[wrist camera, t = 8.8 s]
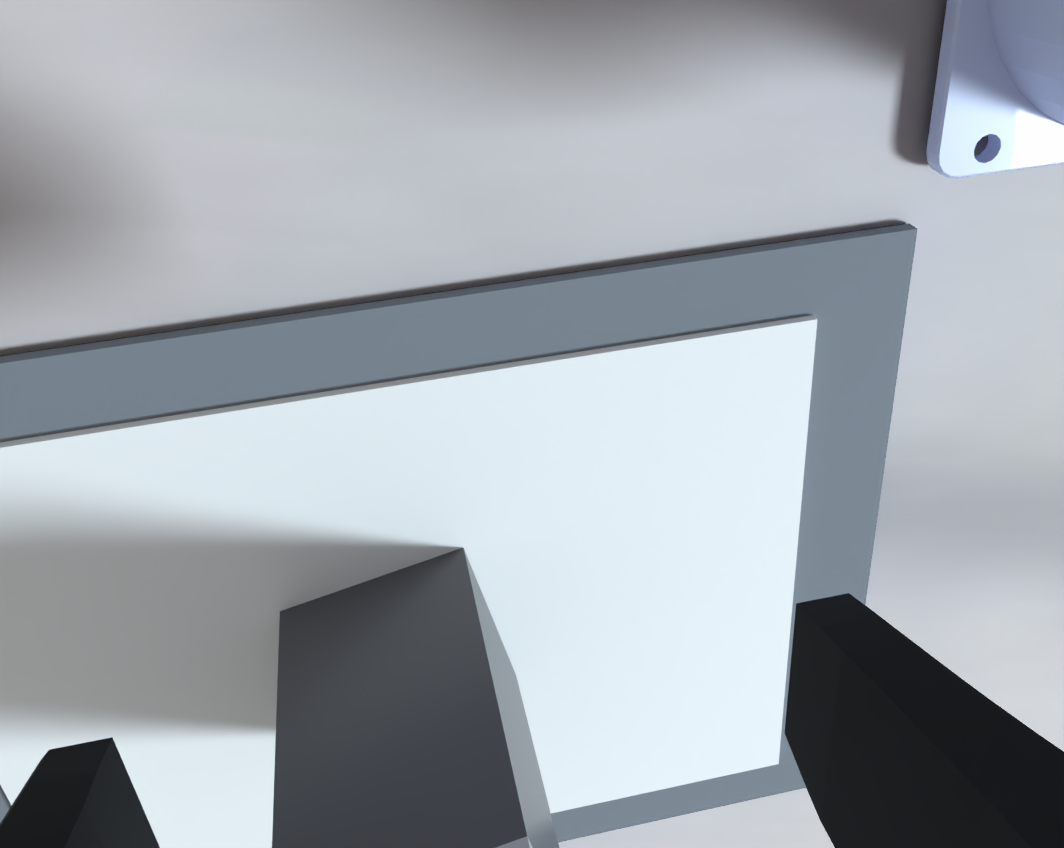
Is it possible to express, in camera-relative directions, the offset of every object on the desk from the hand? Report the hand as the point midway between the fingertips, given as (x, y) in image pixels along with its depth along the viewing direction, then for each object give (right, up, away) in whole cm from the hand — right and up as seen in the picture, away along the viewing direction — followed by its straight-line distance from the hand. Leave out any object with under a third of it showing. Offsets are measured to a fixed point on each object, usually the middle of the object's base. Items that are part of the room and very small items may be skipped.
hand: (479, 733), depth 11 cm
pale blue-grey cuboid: (-2, -2, +11) cm, 11 cm away
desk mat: (-2, -1, +11) cm, 12 cm away
